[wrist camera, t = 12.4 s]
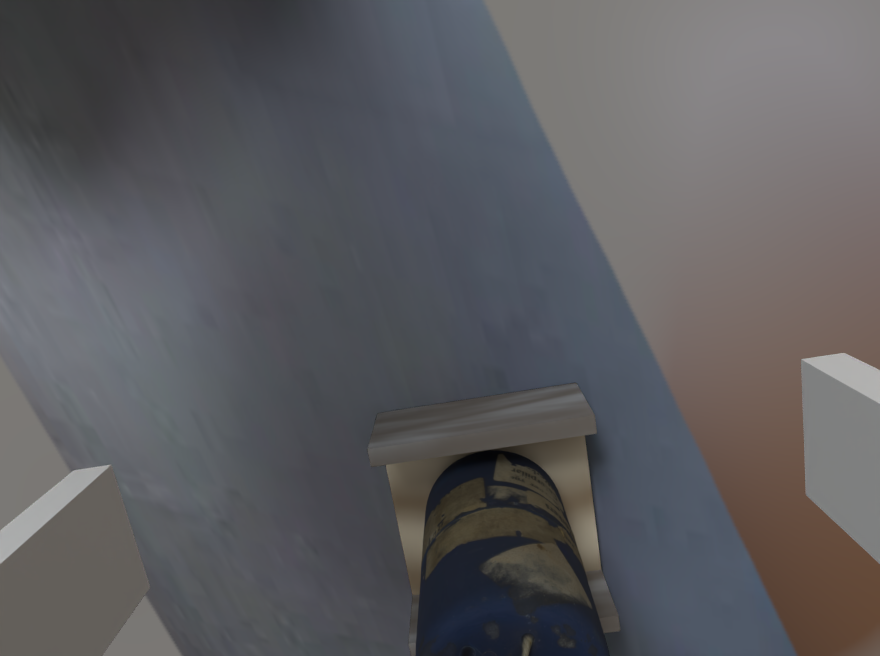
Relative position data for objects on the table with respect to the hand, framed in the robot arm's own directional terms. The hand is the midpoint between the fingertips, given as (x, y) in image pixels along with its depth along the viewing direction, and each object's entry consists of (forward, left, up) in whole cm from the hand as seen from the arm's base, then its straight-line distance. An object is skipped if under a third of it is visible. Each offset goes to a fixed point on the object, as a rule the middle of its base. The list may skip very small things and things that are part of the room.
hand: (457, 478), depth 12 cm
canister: (+18, 0, -31) cm, 36 cm away
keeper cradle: (+18, 0, -32) cm, 36 cm away
